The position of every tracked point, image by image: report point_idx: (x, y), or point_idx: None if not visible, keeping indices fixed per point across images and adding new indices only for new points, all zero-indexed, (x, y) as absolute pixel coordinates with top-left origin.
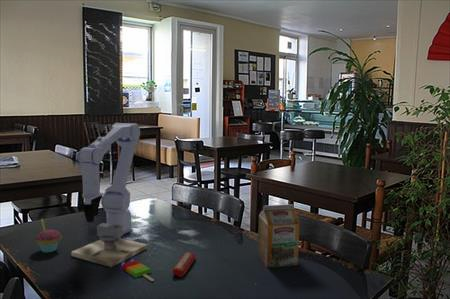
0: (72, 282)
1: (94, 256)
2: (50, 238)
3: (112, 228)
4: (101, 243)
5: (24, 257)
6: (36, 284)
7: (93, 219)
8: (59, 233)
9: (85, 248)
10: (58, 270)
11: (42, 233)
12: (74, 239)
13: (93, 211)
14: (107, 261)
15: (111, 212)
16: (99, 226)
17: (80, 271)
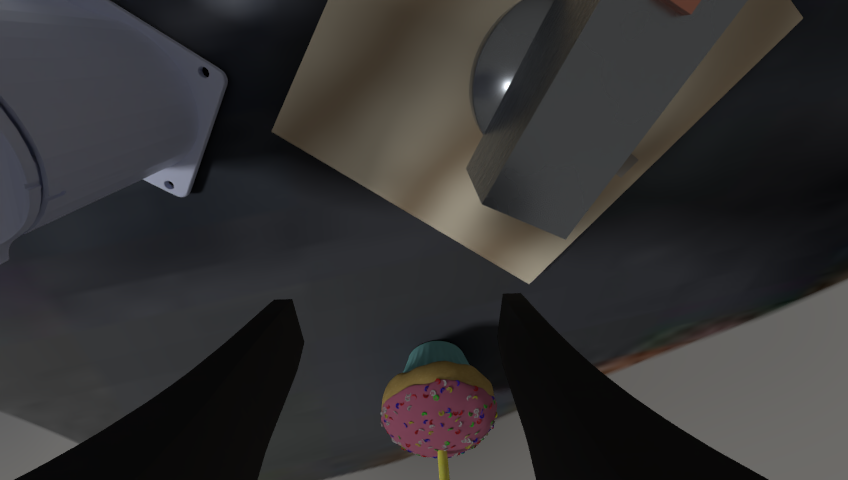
0: (838, 198)
1: (639, 157)
2: (490, 406)
3: (711, 38)
4: (425, 157)
5: (498, 401)
6: (764, 314)
7: (534, 308)
8: (435, 394)
9: (497, 231)
10: (670, 280)
11: (462, 450)
12: (306, 306)
13: (623, 395)
14: (765, 52)
15: (30, 176)
16: (584, 211)
17: (731, 191)
